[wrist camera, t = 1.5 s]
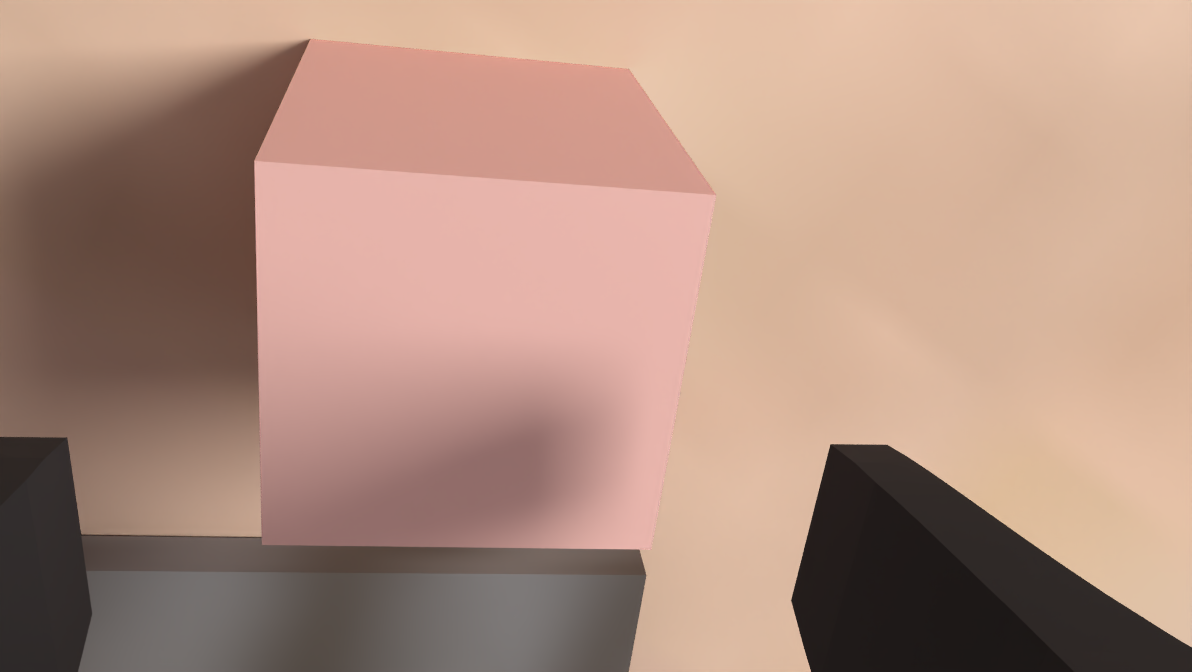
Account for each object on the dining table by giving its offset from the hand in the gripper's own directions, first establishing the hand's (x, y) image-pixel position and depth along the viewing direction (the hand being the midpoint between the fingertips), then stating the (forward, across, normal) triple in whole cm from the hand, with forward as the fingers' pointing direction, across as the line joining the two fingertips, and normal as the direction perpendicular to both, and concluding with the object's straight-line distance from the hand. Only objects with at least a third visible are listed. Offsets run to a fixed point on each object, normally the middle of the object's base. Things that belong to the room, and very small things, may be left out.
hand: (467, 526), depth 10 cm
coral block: (+9, 0, 0) cm, 9 cm away
